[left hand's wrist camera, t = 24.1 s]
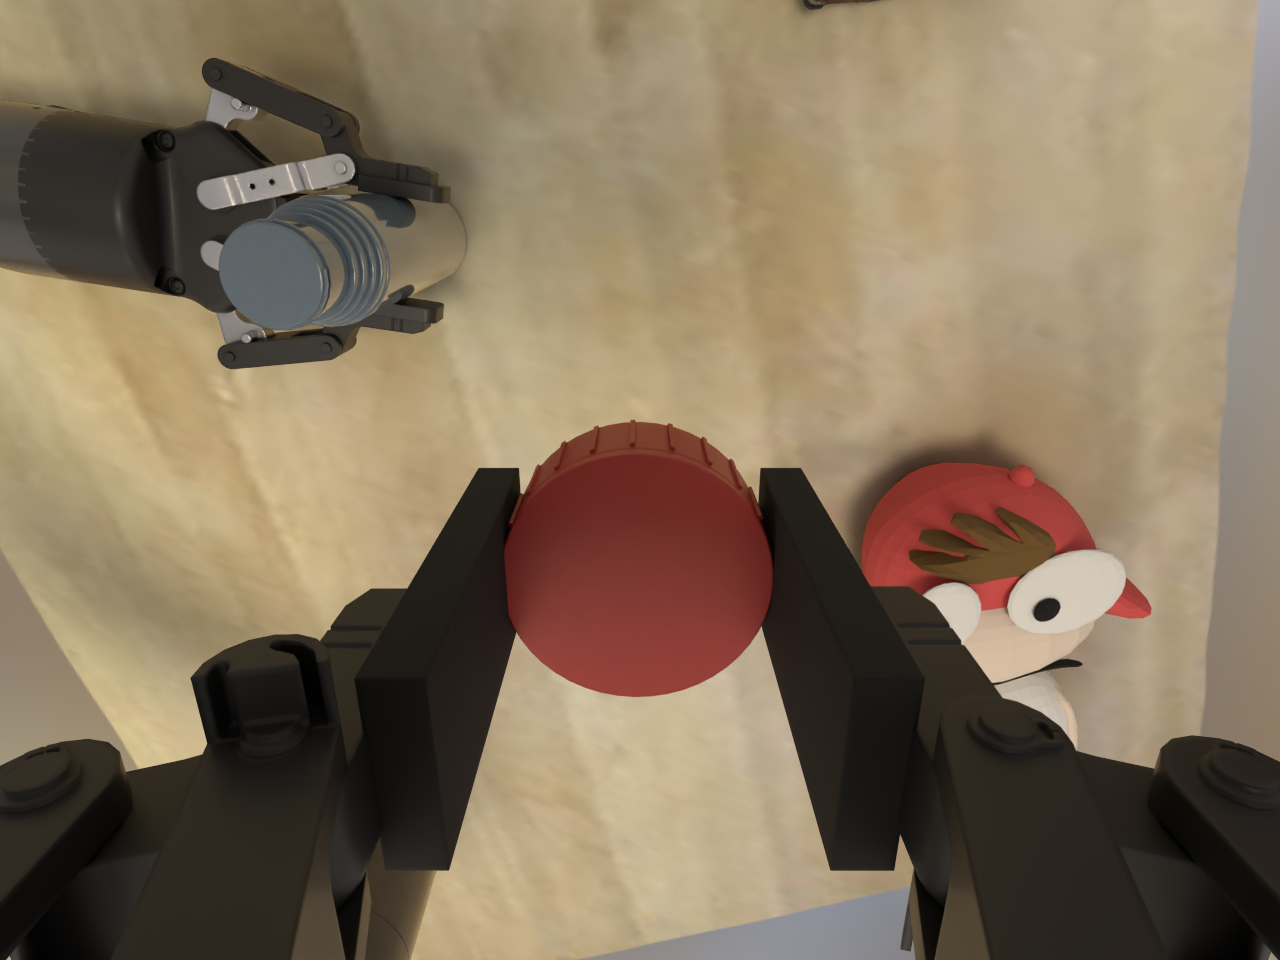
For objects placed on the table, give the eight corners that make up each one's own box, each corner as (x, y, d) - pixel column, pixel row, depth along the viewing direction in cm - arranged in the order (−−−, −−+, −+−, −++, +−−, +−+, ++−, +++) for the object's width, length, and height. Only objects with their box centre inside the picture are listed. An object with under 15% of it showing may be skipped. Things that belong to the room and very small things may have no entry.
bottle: (385, 282, 42) (211, 351, 25) (374, 191, 41) (178, 196, 23) (470, 282, 43) (355, 351, 25) (463, 191, 41) (334, 197, 23)
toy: (873, 914, 50) (887, 545, 36) (824, 790, 59) (818, 455, 45) (1135, 862, 51) (1248, 482, 37) (1046, 748, 60) (1110, 406, 46)
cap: (654, 681, 16) (656, 743, 14) (466, 551, 14) (442, 601, 13) (811, 520, 14) (835, 566, 12) (616, 366, 13) (613, 391, 11)
